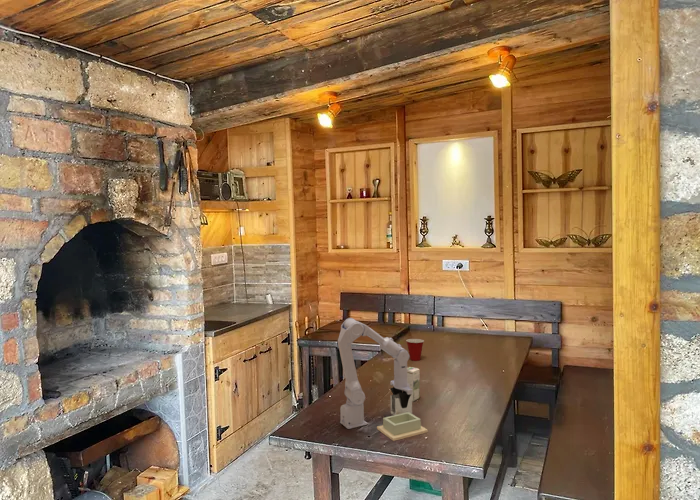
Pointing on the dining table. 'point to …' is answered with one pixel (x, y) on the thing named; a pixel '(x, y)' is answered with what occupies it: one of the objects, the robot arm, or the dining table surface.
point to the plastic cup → (415, 348)
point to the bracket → (399, 405)
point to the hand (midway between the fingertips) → (401, 405)
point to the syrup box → (414, 382)
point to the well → (401, 426)
